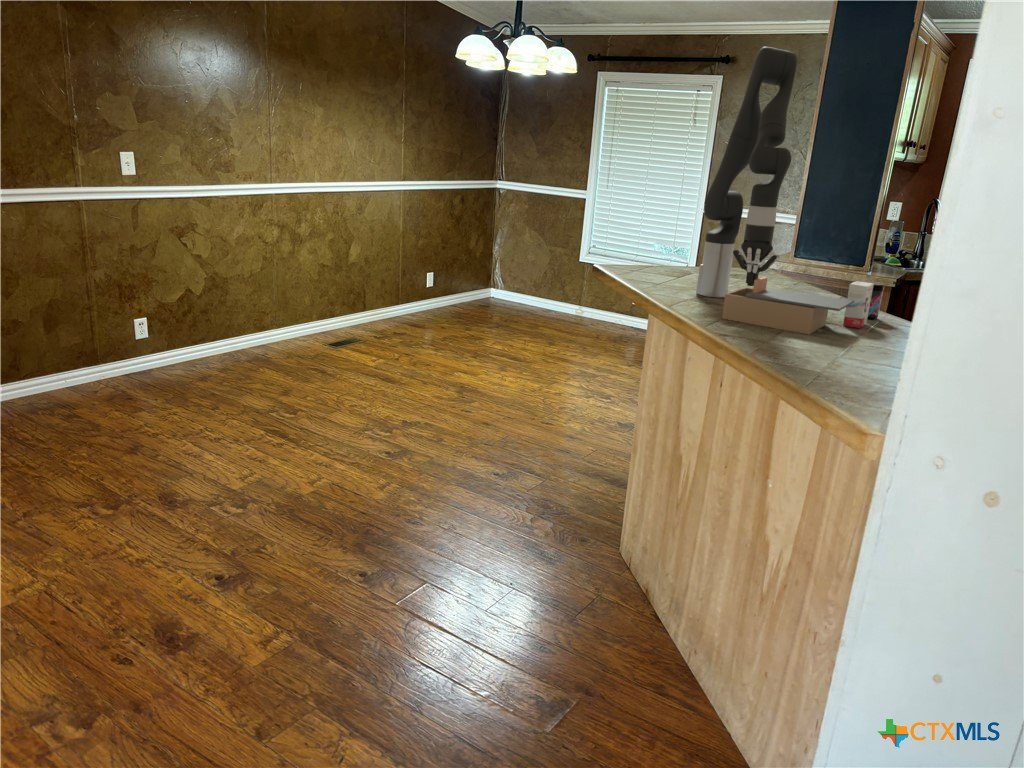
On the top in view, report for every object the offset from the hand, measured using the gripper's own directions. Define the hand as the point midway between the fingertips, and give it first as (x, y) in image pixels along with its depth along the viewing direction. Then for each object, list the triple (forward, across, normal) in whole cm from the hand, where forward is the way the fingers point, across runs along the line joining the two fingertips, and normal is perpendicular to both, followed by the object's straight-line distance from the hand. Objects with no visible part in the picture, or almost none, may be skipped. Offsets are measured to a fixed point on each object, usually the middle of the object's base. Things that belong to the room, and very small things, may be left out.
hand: (751, 285), depth 207 cm
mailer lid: (+2, +14, 0) cm, 14 cm away
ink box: (+9, +26, +15) cm, 31 cm away
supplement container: (+9, +26, +29) cm, 40 cm away
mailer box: (+9, +8, 0) cm, 12 cm away
